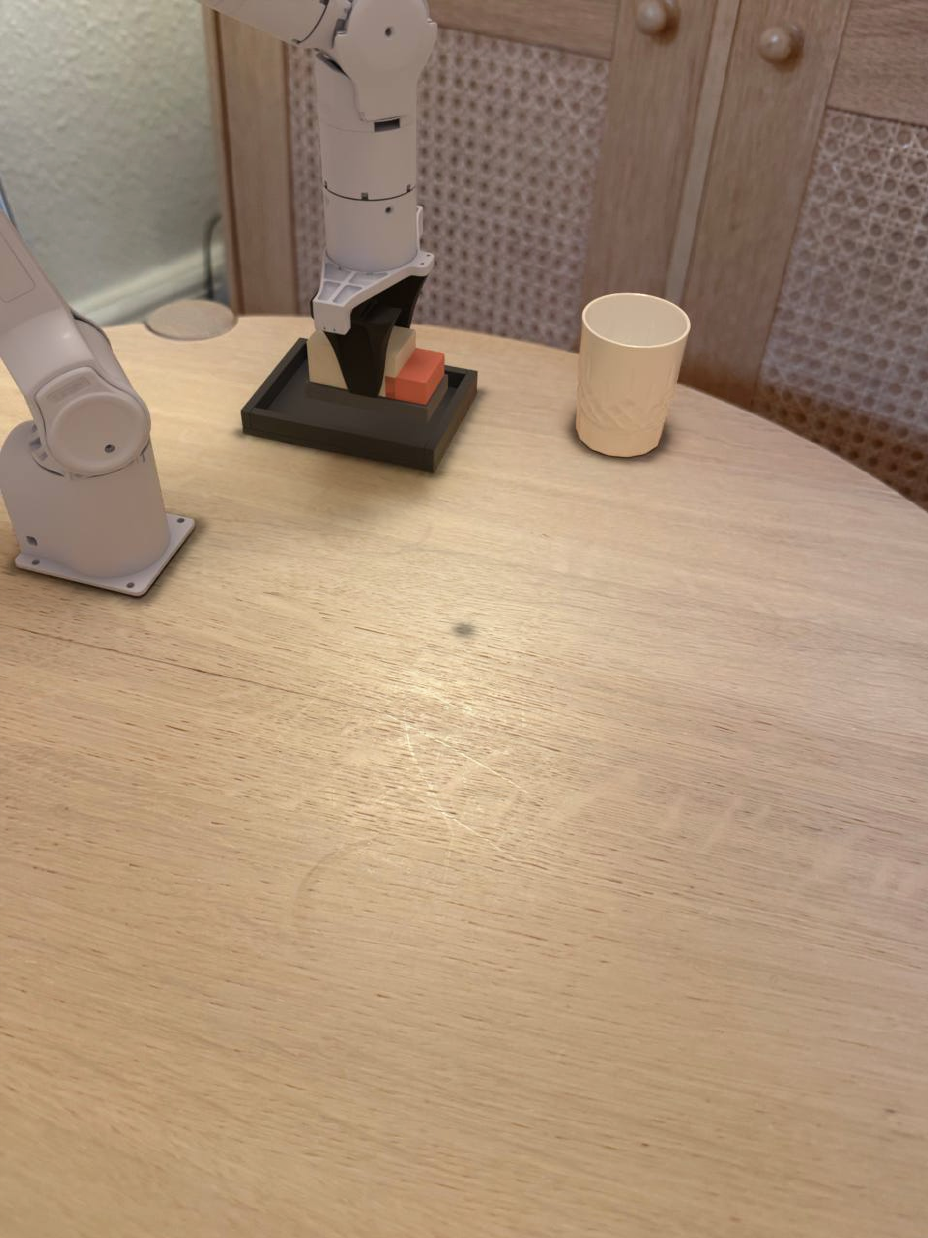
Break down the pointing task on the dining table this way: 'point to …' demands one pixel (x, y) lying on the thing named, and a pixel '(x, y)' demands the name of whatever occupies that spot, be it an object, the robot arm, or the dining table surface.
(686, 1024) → the dining table surface
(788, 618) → the dining table surface
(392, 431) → the black rectangular tray
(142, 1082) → the dining table surface
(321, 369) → the blocks on dark base
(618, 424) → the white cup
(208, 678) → the dining table surface
